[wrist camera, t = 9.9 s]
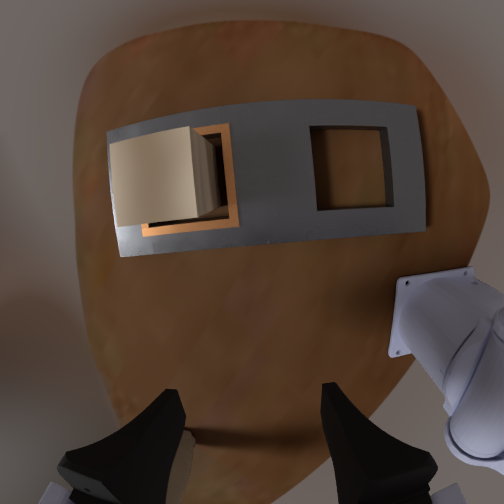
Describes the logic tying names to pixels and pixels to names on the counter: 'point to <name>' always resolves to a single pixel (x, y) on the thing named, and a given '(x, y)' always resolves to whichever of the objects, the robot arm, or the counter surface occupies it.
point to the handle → (181, 469)
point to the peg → (164, 177)
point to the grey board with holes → (286, 175)
